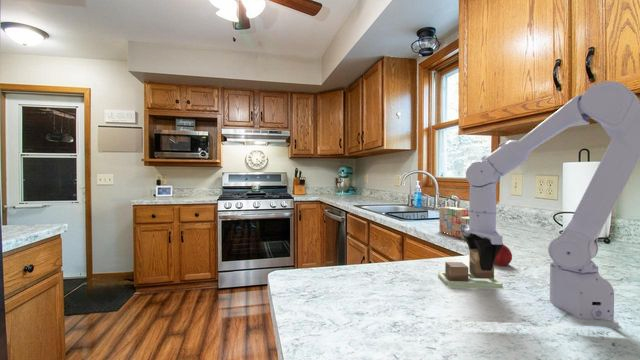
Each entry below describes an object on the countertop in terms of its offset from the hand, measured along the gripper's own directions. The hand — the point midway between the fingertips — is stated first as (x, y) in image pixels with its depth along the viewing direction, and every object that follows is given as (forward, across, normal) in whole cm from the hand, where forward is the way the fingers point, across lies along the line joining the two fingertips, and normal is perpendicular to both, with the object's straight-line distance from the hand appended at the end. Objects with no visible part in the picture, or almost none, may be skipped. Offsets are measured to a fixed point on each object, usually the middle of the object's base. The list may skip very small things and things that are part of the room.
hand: (481, 267), depth 71 cm
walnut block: (+3, 0, -6) cm, 7 cm away
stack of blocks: (+5, -60, +18) cm, 63 cm away
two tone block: (+2, 0, 0) cm, 2 cm away
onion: (+5, -15, +12) cm, 20 cm away
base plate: (+5, 0, -3) cm, 6 cm away
